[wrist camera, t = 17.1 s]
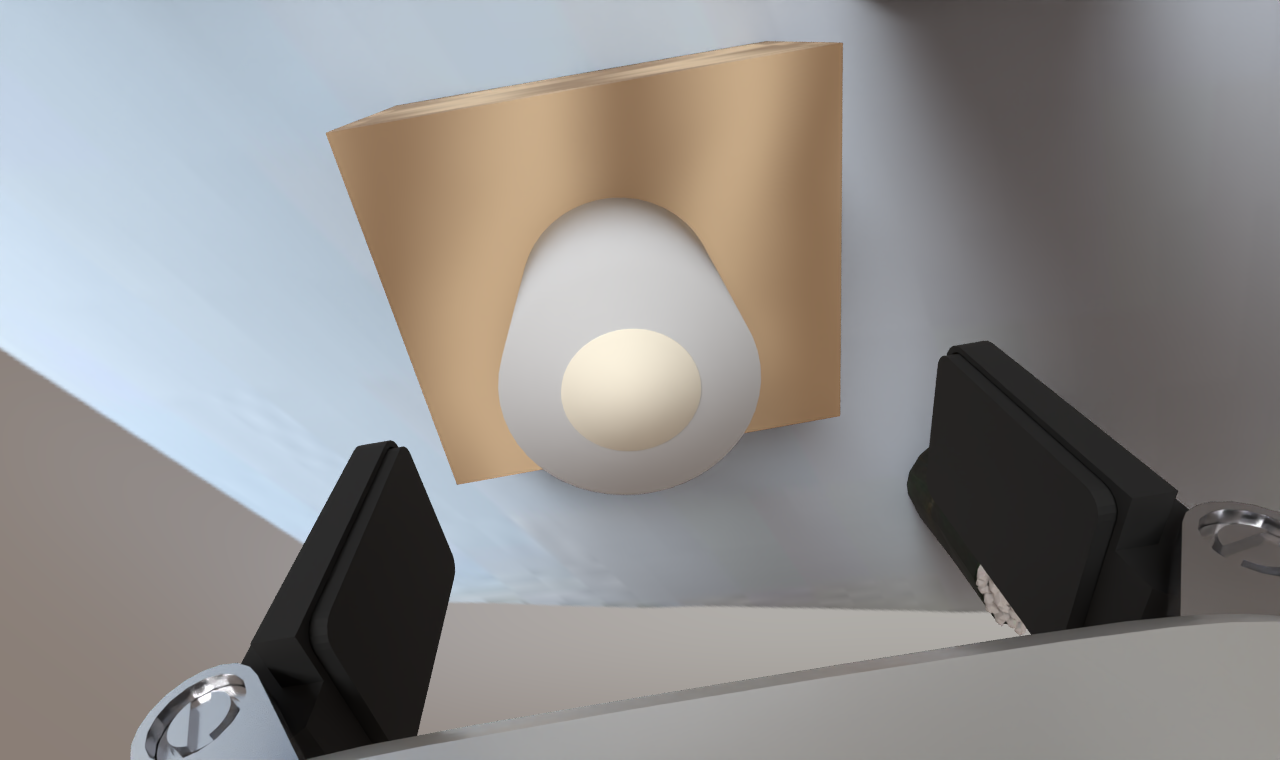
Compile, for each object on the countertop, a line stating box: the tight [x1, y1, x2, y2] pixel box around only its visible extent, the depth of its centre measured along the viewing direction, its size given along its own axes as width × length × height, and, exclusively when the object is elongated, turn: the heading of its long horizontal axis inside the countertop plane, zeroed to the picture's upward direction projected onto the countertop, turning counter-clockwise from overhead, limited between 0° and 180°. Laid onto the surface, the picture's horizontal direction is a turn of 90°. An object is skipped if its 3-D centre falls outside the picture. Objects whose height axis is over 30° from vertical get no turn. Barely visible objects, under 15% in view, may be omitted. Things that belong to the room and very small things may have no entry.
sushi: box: [907, 448, 1026, 635], centre depth 31 cm, size 8×8×8 cm
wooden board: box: [326, 43, 843, 485], centre depth 20 cm, size 14×12×1 cm
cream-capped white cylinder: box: [498, 198, 761, 495], centre depth 17 cm, size 6×6×6 cm
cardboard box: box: [334, 41, 832, 130], centre depth 23 cm, size 14×12×7 cm
